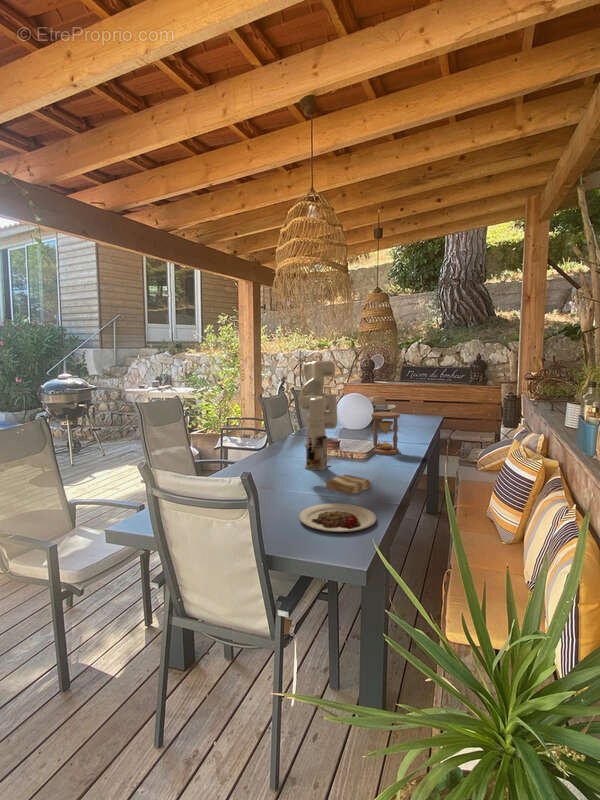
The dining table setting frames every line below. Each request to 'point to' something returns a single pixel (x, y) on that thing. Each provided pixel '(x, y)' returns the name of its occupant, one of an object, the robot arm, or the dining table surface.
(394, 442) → the hourglass
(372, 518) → the plated food
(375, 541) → the dining table surface
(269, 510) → the dining table surface
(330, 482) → the sliced bread
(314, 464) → the coffee box
